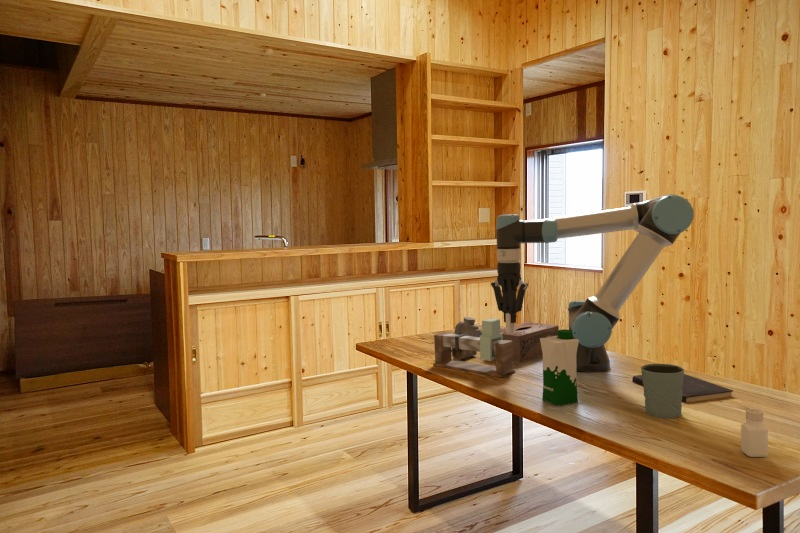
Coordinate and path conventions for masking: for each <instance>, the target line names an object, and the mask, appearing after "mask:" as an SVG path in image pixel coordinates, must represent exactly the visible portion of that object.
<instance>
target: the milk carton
mask: <svg viewBox="0 0 800 533" xmlns="http://www.w3.org/2000/svg"><path fill="white" fill-rule="evenodd" d="M540 342H541V347H542V353H543V355H542V381H543V382H542V401H545V402H548V403H550V404H552V405H554V406H556V407H561V406H566V405H570V404H576V403H579V398H578V385H577V382H578V381H577V377H578V376H577V372H578V371H577V369H576V353H577V348H578V343H579V340H578V339H576V338H573V337H572V330H569V329H559V330H558V336H552V337H547V338H540Z"/></svg>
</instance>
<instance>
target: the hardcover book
mask: <svg viewBox="0 0 800 533" xmlns="http://www.w3.org/2000/svg"><path fill="white" fill-rule="evenodd" d="M632 382H633V383H635V384H638V385H640V386H642V387H644V385H643V380H642V374H638V375H633V376H632ZM682 390H683V392H682V400H681V402H683V403H685V404H686V403H691V402H700V401H705V400H706V401H707V400H713V399H714V400H715V399H720V398H727V397H732V392H733V393H734V390H733V389H732V388H731V389H730V388H727V387H724V386H721V385H718V384H715V383H712V382H709V381H707V380H704V379H701V378H698V377H695V376H692V375H689V374H686V373H684V377H683V386H682Z"/></svg>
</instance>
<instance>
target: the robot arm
mask: <svg viewBox="0 0 800 533" xmlns="http://www.w3.org/2000/svg"><path fill="white" fill-rule="evenodd" d="M694 214H695V213H694V208H693V206H692V204H691V203H690V201H688V199H686V198H685V197H684V196H681V195H678V194H670V193H669V194H665V195H662V196H657V197H654V198H651V199H647V200H644V201H640V202H634V203H633V202H632V204H631V205H630V206H627V207H626V206H625V207H619V208H613V209H612V208H611V209H604V210H598V211H597V210H596V211H590V212H589V211H588V212H583V213H574V214H568V215H561V216H555V217H554V216H553V217H548V218H547V217H546V218H545V217H544V218H537V219H528V220H526V219H525V220H524V219H520V215H519V214H517V213H516V214H499V215H498V216H497V217H496V228H495V230H496V234H495V235H496V260H497V261H498V262H497V264H496V267H497V268H496V269H497V270H496V272H497V278H496V280H494V281H492V282H490V285H491V287H492V289H493V293H494V297H495V302H496V305H497V310H498V311H499V312H501V313H503V322H504V323H505V327H506V333H513V332H514V325H515V323H517V313H519V312H522V310H523V304H524V299H525V294H526V290H527V288H528V286H529V284H528V283H527V282H524V281H523V280H522V276H521V270H522V269H521V262H520V261H521V244H549V243H556V242H558V239H566V238H573V237H581V236H590V235H591V236H592V235H599V234H606V233H614V232H615V233H616V232H622V231H631V230H632V231H634V232H636V233H637V232H638V234H637V235H636V236H635V237H634V239H633V241H632V242H631V243H630V245H629V246H628V248H627V249H626V250H625V252H624V253H623V255H622V256H621V258H620V259H619V261H618V262H617V264H615V266H614V268H613V269H612V271H611V272H610V273H609V275H608V276H607V278H606V279H605V281H604V282H603V283H602V285H601V286H600V288H599V289H598V291H597V292H596V294H595V295H592V296H589V297H587V298H586V299H585V300H571V301H570V302H569V303H568V307H567V311H568V330H572V337H573V338H576V339H578V340H579V343H578V348H577V353H576V369H577V372H585V373H588V372H589V373H595V372H603V371H608V370H609V369H610V368H611V360H610V358H609V354H608V352H607V350H606V346H605V344H606V343H607V342H608V341H609V340H610V339H611V336H612V333H613V329H614V327H615V326H616V325H617V323H618V321H619V320H620V318H621V315H620V310H621V308H622V307H623V306H624V305H625V303H626V302H627V300H628V299H629V297H630V296H631V295H632V294H633V292H634V291H635V289H636V288H637V286H638V285H639V284H640V282H641V281H642V279H643V278H644V276H645V275H646V274H647V272H648V271H649V269H650V268H651V266H652V265H653V263H654V262H655V260H656V259H657V258H658V256H659V255H660V254H661V252H662V251H663V249H664V248H666V247H670V246H672V245H673V244H674V243H675V242H676V240H677V239H678V237H679V236H680V234H682V233H683V232H684V231H687V229H688V228H690V226H691V225H692V223H693V220H694Z"/></svg>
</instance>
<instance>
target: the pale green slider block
mask: <svg viewBox="0 0 800 533" xmlns="http://www.w3.org/2000/svg"><path fill="white" fill-rule="evenodd" d="M500 328H501V319H500V318H499V319H498V318H487V319H484V320H483V319H482V320H481V331H482V335H481V336H480V352H479V353H480V354H479V355H480V356H479V357H480V359H479V360H482V361H489V362H491V361H494V360H496V354H492V339H496V340H503V333H500Z"/></svg>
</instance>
